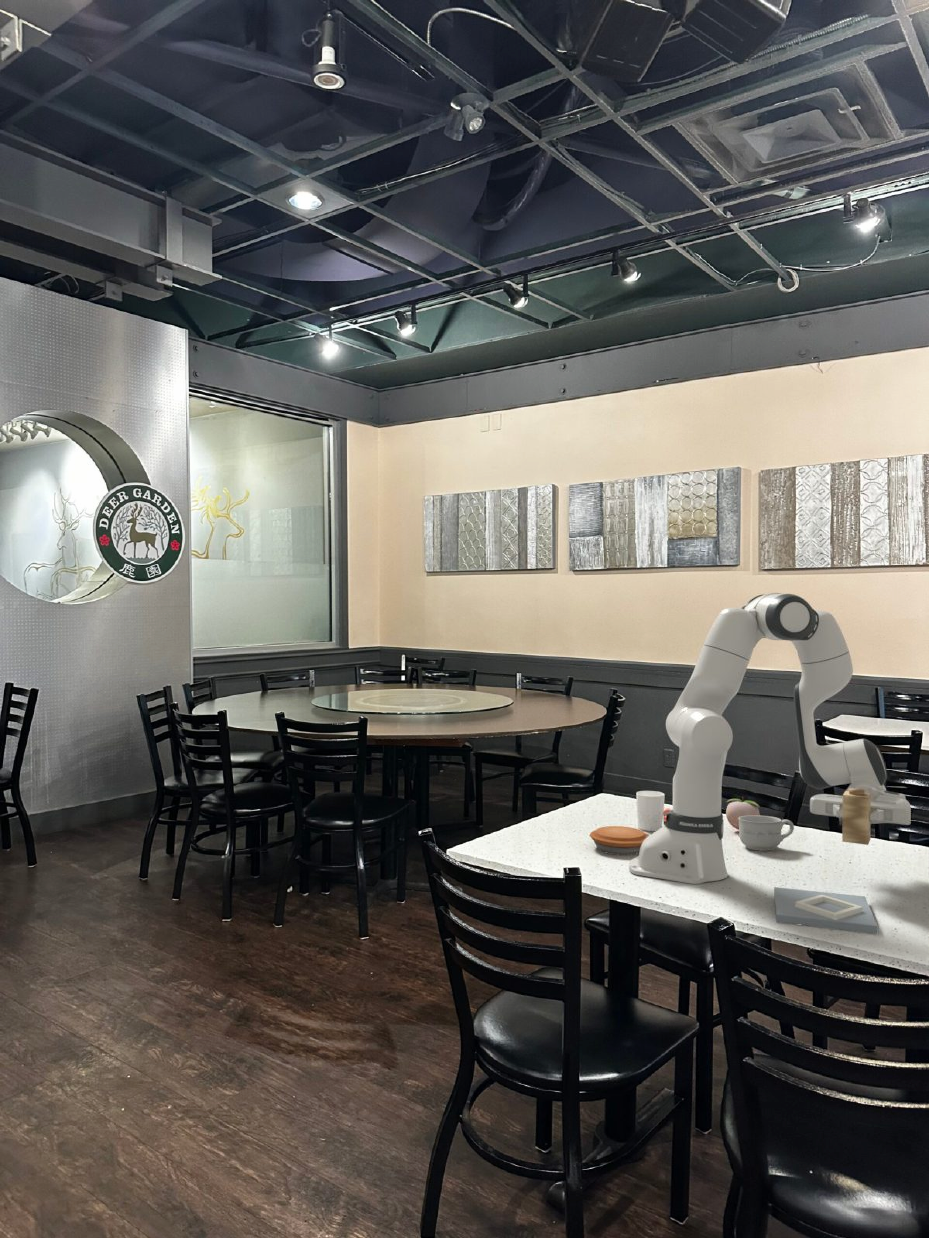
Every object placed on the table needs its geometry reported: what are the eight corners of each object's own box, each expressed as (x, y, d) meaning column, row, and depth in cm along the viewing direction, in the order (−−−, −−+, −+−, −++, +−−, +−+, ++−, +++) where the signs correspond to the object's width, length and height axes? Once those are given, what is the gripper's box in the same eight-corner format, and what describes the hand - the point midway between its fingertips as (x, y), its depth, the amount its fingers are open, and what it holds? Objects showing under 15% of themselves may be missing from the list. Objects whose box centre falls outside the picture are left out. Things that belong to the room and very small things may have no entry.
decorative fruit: (723, 833, 238) (723, 797, 238) (727, 827, 245) (727, 792, 245) (758, 837, 234) (758, 801, 234) (761, 830, 241) (761, 795, 241)
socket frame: (795, 906, 172) (795, 901, 172) (821, 899, 177) (821, 894, 177) (835, 920, 165) (835, 914, 165) (862, 911, 170) (862, 906, 170)
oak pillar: (842, 841, 182) (842, 790, 182) (845, 836, 186) (845, 786, 186) (868, 844, 179) (868, 792, 179) (870, 839, 184) (870, 788, 184)
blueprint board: (776, 922, 167) (776, 914, 167) (774, 893, 185) (774, 886, 185) (877, 933, 162) (877, 925, 162) (864, 903, 179) (865, 896, 179)
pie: (577, 848, 221) (577, 829, 221) (612, 838, 231) (612, 820, 231) (627, 861, 210) (627, 841, 210) (662, 849, 220) (662, 830, 220)
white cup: (644, 823, 248) (644, 789, 248) (669, 828, 243) (669, 793, 243) (631, 828, 242) (631, 793, 242) (656, 833, 237) (656, 797, 237)
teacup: (739, 852, 219) (740, 820, 219) (736, 841, 229) (736, 811, 229) (797, 856, 215) (797, 824, 215) (791, 845, 226) (791, 815, 226)
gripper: (814, 785, 199) (804, 795, 187) (912, 795, 189) (909, 806, 177) (813, 812, 199) (804, 823, 187) (912, 823, 189) (909, 836, 177)
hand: (856, 815), depth 182 cm, fingers closed on oak pillar, 5 cm apart
